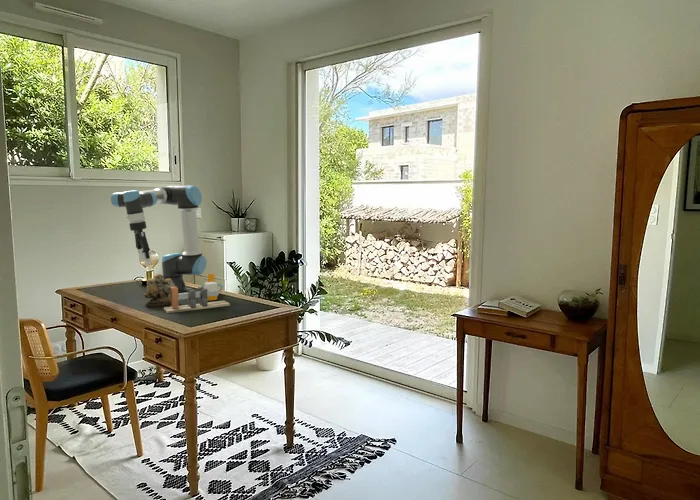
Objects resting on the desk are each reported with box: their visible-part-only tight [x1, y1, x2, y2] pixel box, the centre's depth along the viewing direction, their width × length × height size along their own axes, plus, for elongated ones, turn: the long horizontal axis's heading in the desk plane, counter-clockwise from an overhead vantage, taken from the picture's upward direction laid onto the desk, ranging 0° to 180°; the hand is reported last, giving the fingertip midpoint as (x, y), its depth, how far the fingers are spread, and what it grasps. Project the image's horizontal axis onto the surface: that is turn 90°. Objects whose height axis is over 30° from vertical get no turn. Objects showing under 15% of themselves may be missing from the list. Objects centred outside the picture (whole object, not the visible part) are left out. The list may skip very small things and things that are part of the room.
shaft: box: [170, 286, 220, 308], centre depth 252 cm, size 4×24×10 cm, turn 122°
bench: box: [163, 286, 231, 314], centre depth 253 cm, size 9×32×10 cm, turn 122°
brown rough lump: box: [142, 273, 175, 309], centre depth 259 cm, size 18×12×17 cm, turn 134°
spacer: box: [203, 281, 219, 292], centre depth 256 cm, size 7×5×4 cm
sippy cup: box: [200, 272, 223, 302], centre depth 272 cm, size 12×10×15 cm
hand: (145, 263), depth 243 cm, fingers open, 13 cm apart
